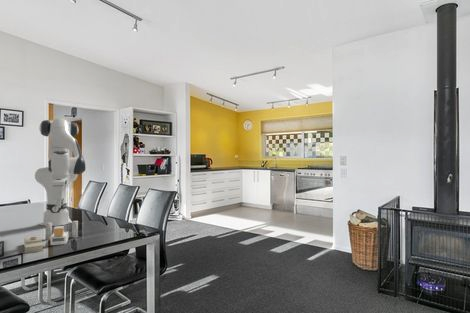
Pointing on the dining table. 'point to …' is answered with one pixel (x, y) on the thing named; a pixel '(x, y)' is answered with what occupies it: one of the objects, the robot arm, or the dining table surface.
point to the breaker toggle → (58, 231)
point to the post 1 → (48, 231)
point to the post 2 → (74, 229)
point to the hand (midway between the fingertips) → (59, 206)
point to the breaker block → (59, 239)
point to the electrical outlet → (33, 244)
